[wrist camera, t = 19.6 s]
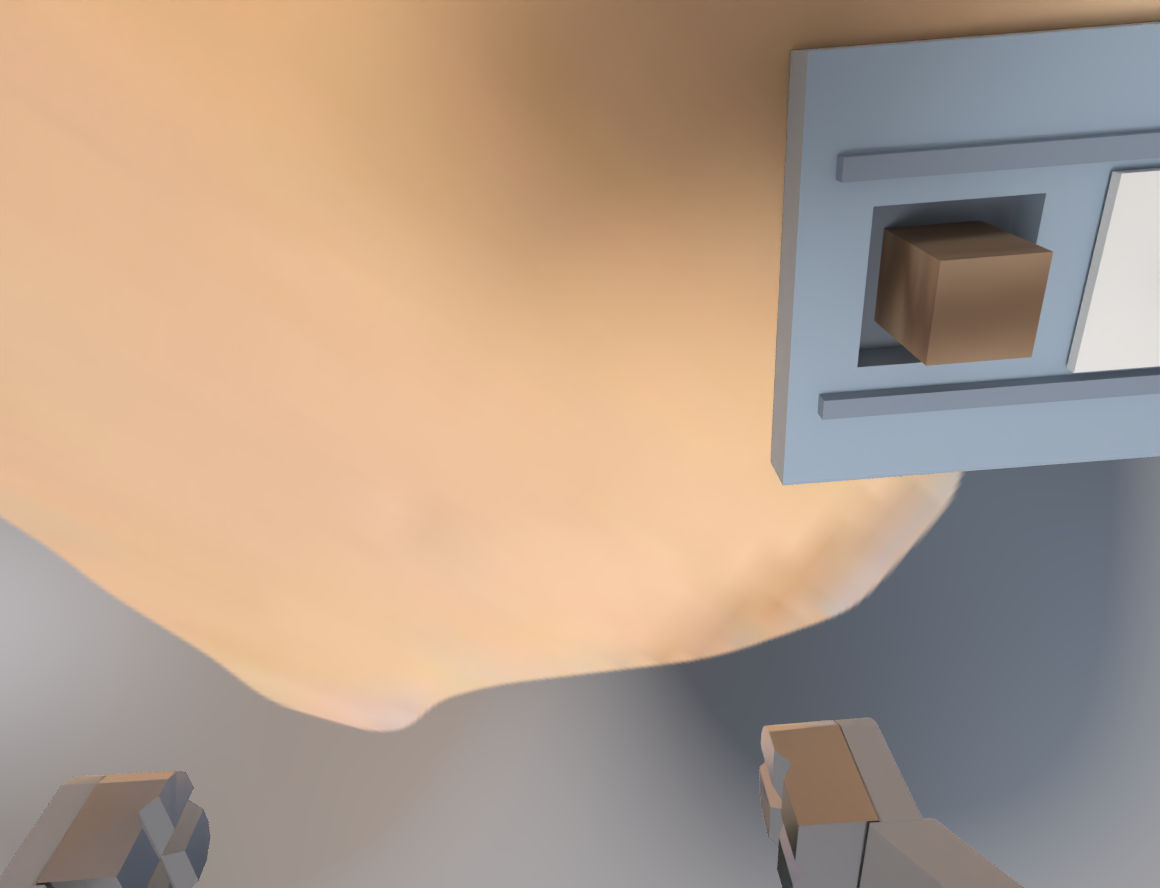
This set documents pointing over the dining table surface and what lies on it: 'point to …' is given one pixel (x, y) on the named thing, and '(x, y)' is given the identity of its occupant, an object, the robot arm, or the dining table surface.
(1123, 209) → the lid
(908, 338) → the walnut block
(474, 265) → the dining table surface
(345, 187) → the dining table surface
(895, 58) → the puzzle board
